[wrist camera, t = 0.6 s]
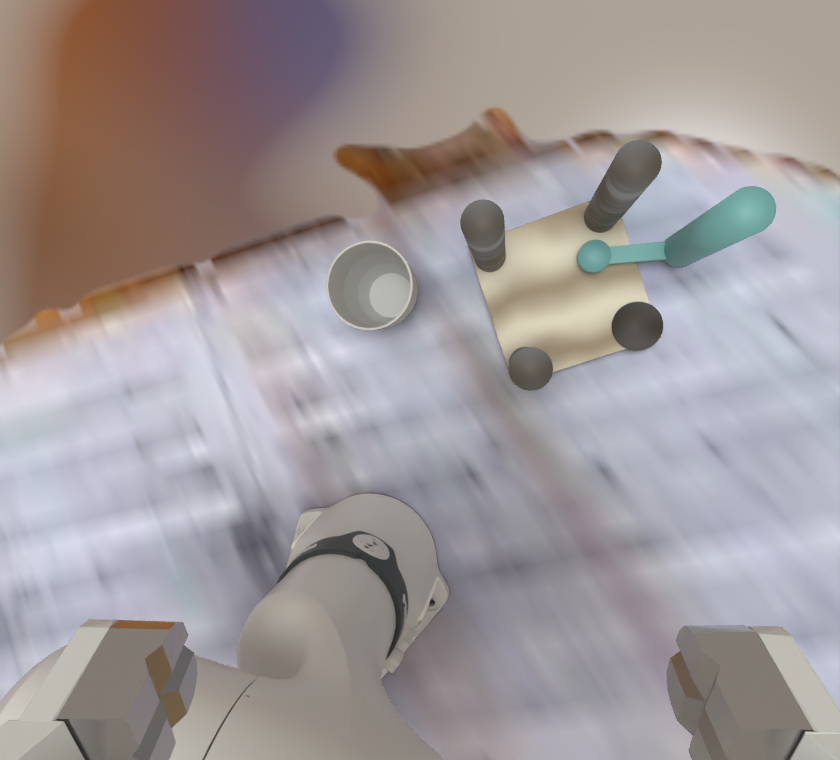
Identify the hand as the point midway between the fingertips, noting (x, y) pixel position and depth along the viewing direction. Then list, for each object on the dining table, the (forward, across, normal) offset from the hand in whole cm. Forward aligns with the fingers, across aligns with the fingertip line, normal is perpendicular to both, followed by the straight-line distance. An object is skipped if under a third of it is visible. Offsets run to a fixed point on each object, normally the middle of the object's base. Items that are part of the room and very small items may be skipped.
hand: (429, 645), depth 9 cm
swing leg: (+48, +20, -7) cm, 52 cm away
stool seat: (+49, +13, -12) cm, 52 cm away
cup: (+52, -4, -13) cm, 53 cm away
